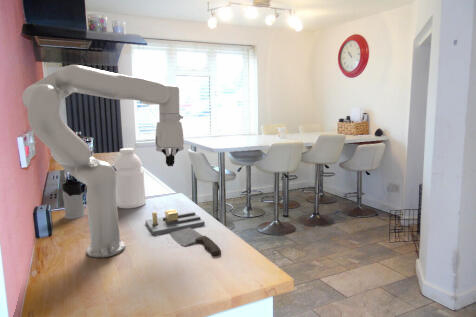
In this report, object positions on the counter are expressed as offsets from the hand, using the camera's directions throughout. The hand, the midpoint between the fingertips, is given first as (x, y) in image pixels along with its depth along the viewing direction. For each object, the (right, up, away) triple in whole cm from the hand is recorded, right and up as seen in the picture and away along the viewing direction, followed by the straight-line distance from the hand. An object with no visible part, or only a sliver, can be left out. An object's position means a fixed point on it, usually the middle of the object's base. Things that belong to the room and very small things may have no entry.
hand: (170, 165), depth 136 cm
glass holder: (-46, -23, +25) cm, 57 cm away
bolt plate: (0, -25, +9) cm, 26 cm away
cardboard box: (-1, -23, +8) cm, 24 cm away
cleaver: (+11, -28, -9) cm, 31 cm away
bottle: (-27, -20, +38) cm, 51 cm away
